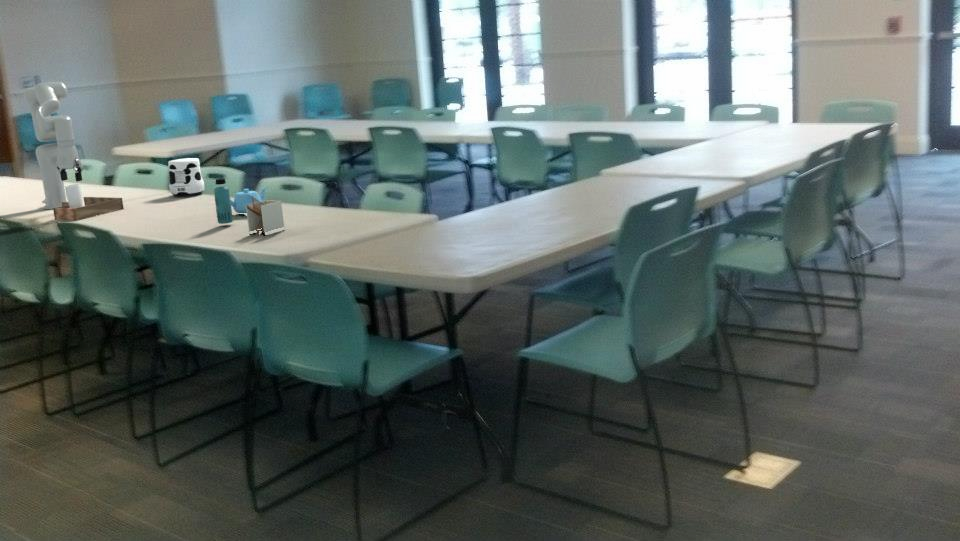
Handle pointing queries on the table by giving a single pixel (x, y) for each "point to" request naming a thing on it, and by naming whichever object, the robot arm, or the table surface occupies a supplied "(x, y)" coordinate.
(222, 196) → the beverage bottle
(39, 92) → the robot arm
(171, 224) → the table surface
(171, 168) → the milk container
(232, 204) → the teapot
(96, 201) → the angular wooden frame
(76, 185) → the white cup
